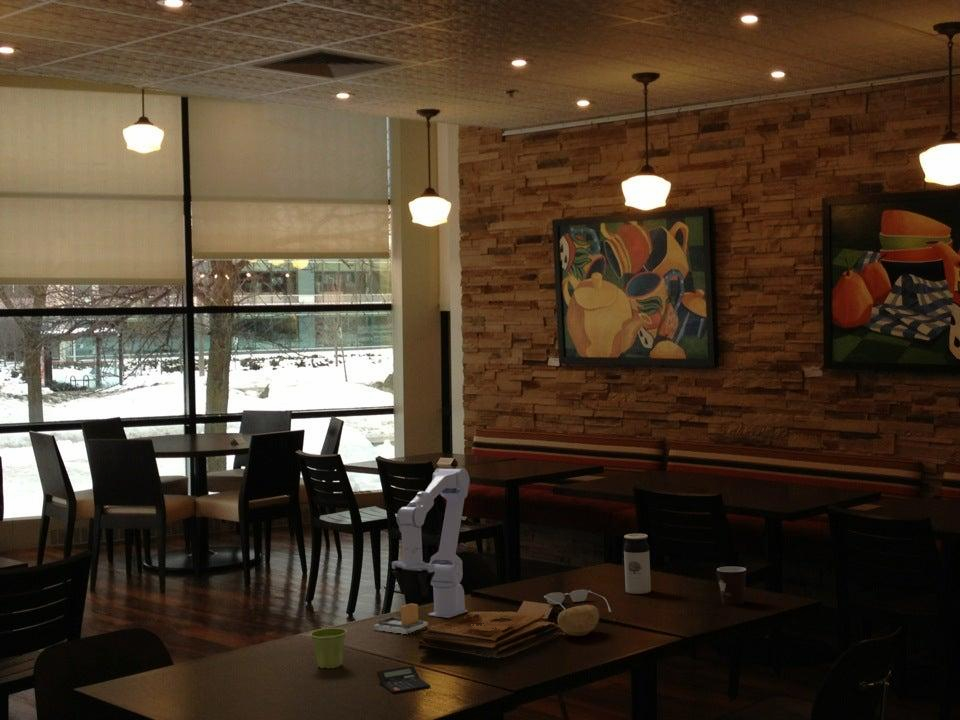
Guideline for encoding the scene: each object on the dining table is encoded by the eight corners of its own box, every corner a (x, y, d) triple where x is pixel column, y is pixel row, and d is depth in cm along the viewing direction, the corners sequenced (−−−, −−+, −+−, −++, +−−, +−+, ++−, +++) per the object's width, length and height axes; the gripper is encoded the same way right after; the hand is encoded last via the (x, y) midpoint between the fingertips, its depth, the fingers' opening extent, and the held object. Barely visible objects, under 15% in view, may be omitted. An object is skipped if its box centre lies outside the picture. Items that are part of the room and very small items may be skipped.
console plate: (396, 622, 347) (396, 615, 347) (428, 627, 340) (427, 619, 340) (373, 630, 339) (373, 622, 339) (405, 634, 332) (405, 626, 331)
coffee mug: (750, 604, 350) (748, 571, 350) (721, 606, 350) (719, 572, 350) (742, 596, 361) (741, 564, 361) (714, 597, 362) (712, 565, 361)
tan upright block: (410, 622, 339) (409, 602, 339) (418, 623, 338) (417, 603, 338) (401, 625, 336) (400, 605, 336) (409, 626, 334) (408, 606, 334)
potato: (610, 632, 325) (608, 603, 325) (577, 642, 315) (576, 613, 315) (582, 627, 332) (581, 599, 332) (550, 637, 322) (548, 608, 321)
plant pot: (318, 673, 296) (317, 638, 296) (306, 664, 304) (305, 631, 304) (353, 667, 300) (352, 633, 300) (340, 659, 309) (339, 626, 309)
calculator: (393, 695, 275) (392, 682, 275) (377, 683, 286) (376, 670, 286) (430, 689, 279) (429, 676, 279) (413, 677, 290) (412, 665, 290)
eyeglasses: (589, 601, 366) (589, 588, 366) (614, 613, 349) (613, 599, 349) (543, 606, 361) (543, 593, 361) (566, 619, 344) (565, 605, 344)
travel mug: (633, 588, 380) (630, 532, 380) (655, 590, 376) (652, 534, 375) (621, 593, 374) (618, 536, 374) (643, 595, 369) (641, 538, 369)
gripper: (384, 548, 340) (386, 595, 340) (422, 552, 331) (425, 600, 332) (399, 544, 346) (402, 590, 346) (438, 547, 337) (440, 595, 337)
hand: (414, 595), depth 339 cm, fingers open, 7 cm apart
